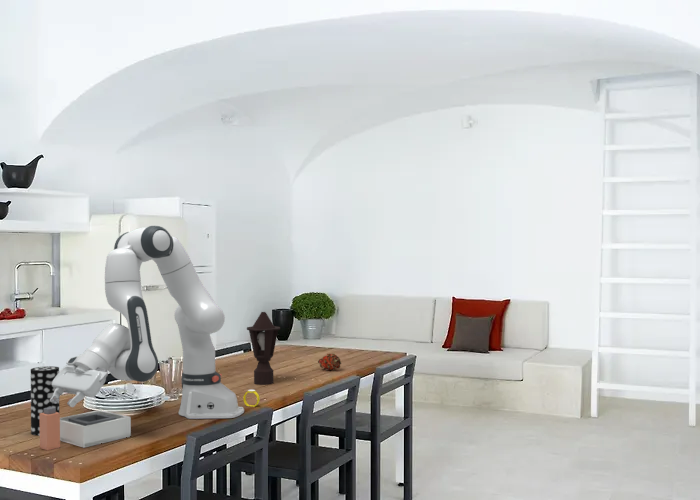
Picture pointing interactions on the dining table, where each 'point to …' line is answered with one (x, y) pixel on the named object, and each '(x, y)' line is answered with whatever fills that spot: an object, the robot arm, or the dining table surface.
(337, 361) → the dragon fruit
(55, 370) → the spotted tube
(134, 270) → the robot arm
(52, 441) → the connector
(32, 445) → the dining table surface
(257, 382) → the lantern
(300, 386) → the dining table surface
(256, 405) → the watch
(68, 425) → the walled box
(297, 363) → the dining table surface
